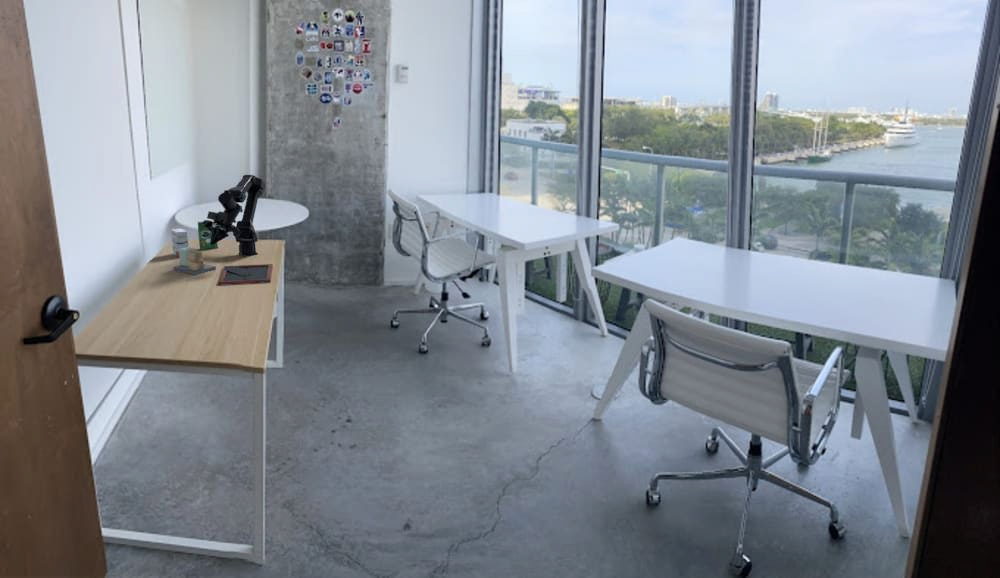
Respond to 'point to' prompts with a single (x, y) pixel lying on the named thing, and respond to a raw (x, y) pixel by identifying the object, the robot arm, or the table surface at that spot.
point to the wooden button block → (194, 260)
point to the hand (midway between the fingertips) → (211, 244)
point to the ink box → (179, 240)
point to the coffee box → (205, 237)
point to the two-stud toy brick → (184, 255)
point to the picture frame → (246, 274)
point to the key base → (194, 272)
